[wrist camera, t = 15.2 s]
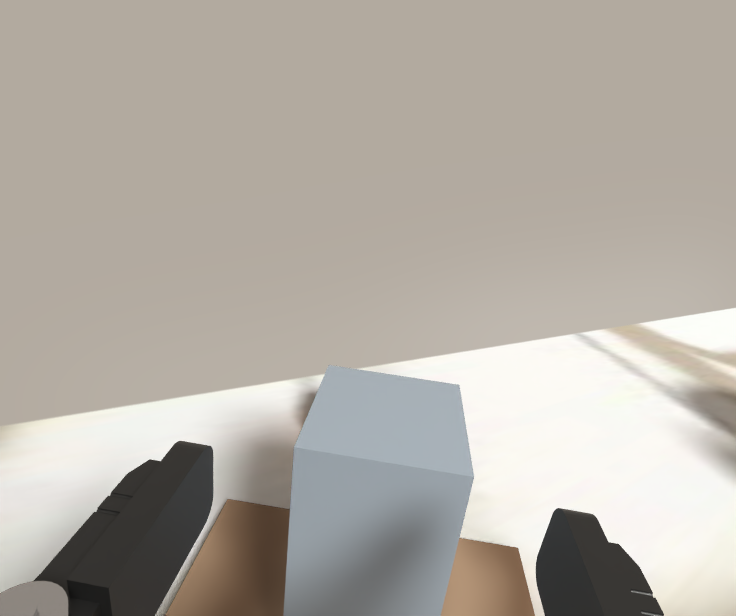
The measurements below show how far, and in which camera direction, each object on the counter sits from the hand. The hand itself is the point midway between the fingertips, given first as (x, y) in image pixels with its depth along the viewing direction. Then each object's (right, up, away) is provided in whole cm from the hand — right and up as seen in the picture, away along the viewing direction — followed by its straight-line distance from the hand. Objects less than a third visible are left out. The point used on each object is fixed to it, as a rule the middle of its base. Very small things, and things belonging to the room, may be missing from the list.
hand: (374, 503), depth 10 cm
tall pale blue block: (-1, -11, +11) cm, 16 cm away
